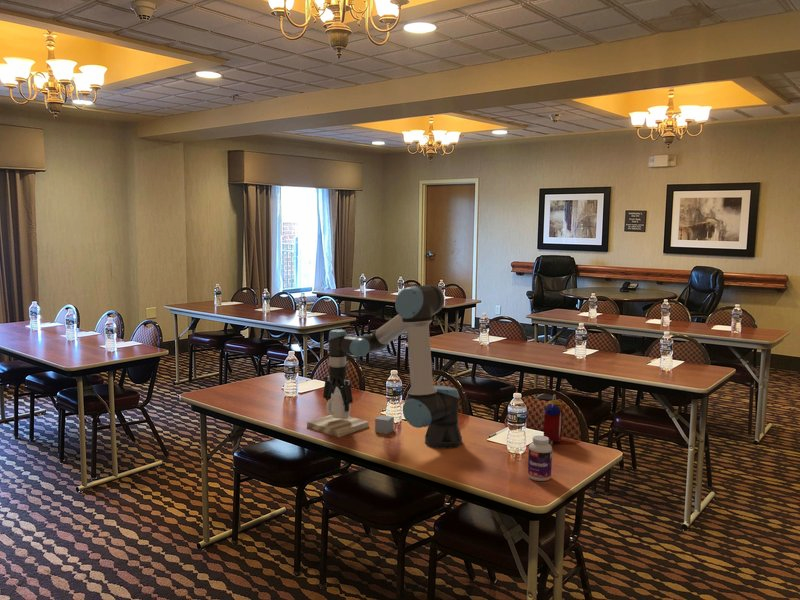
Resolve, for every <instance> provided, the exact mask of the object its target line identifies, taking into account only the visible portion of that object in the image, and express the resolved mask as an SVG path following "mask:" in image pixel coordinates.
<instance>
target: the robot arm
mask: <svg viewBox="0 0 800 600" xmlns="http://www.w3.org/2000/svg"><path fill="white" fill-rule="evenodd" d="M444 295H445V294H444V293H443V291H442V289H440V288H439V287H438V286H436V285H433V284H426V285H413V286H409V287H405V288H403V289H401V290H400V291H399V292H398V294H397V295H396V298H395V304H394V305H395V306H394V308H395V311H396V313H397V315H395V316H393V318H391V319H390V320H389V321H387V322H385V323H384V324H383V325H381V326H380V327H379V328H377V329H376V330H374V331H373V332H372V333H369V334H364V335H359V336H349V335H348V334H347V331H346V330H344V329H331V330H330V331H329V333H328V365H329V367H328V374H329V375H328V376H324V389H323V394H322V397H323V398H324V399H325V400H326V403H327V402H328V400H329V399H330V398H331V393H332V394H334V391H335V388H336V387H338V389H339V390H340V393H341V396H342V399H343V402H344V404H342V419H346V418H348V411H349V404H350V405H351V404H353V402H354V401H353V399H354V398H353V393H352V385H351V384H352V380H351V379H350V380H348V379H347V378H346V374H347V366H346V365H347V355H351V356H355V357H365V356H366V355H367V354H368V353H371V352H375V351H376V352H377V351H381V350H384V349H385V348H387V347H388V344H389V343H390V342H392V341H394V340H395V339H396V338H397V337H399V336H401V335H402V334H403V333H405V332H406V334H407V335H406V336H407V349H408V364H409V365H408V366H409V377H410V378H409V379H410V388H409V390H408V391H407V392H406V393H407V400H405V401H404V403H403V405H402V415H403V417H404V419H405V421H406V422H408V424H409V425H411V426H412V427H413V428H417V429H422V428H425V427H427V430H426V433H425V436H424V443H425V444H426V445H427V446H430V447H432V448H435V449H453V448H458V447H460V446H461V445H462V444H463V436H462V434H461V430H460V427H459V399H460V395H459V389H457V388H456V387H452V386H445V385H434V383H433V382H434V381H433V366H432V365H433V364H432V352H431V350H432V349H431V338H430V336H431V335H430V324H431V323H432V322H433V316H434V315H436V314H438V313H439V312H440V311H441V310H442V309H443V307H444V304H445V296H444ZM342 386H343V387H342ZM329 410H330V411H331V403H330V405H329ZM328 415H330V414H328V413H327V416H328Z"/></svg>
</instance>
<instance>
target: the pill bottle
mask: <svg viewBox="0 0 800 600" xmlns="http://www.w3.org/2000/svg"><path fill="white" fill-rule="evenodd" d="M527 458H528V459H527V460H528V461H527V475H528V478H530V479H531V480H533V481H535V482H536V481H537V482H545V481H546V482H547V481H549V480H550V479H551V477H552V463H553V462H552V460H553V447H552V446H551V444H550V441H549V438H548V437H546V436H544V435H533V436H532V442H531V443H529V446H528V457H527Z"/></svg>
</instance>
